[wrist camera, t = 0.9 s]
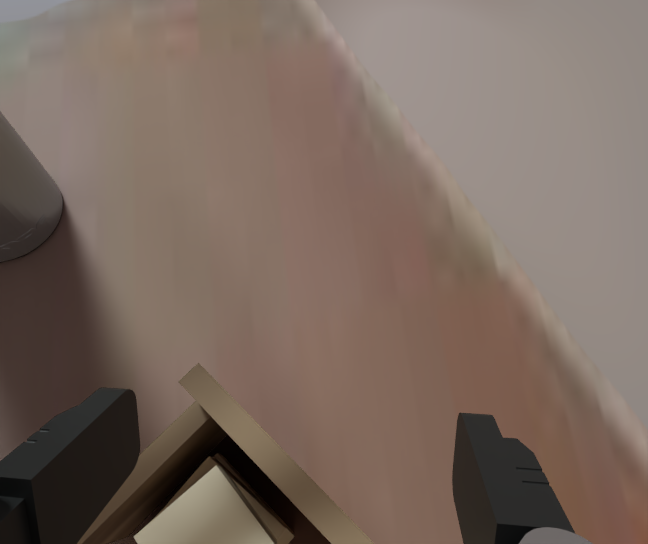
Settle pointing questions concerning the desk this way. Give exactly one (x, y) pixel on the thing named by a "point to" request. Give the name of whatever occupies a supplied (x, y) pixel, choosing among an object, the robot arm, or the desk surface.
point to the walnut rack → (193, 446)
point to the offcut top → (208, 516)
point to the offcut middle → (263, 511)
